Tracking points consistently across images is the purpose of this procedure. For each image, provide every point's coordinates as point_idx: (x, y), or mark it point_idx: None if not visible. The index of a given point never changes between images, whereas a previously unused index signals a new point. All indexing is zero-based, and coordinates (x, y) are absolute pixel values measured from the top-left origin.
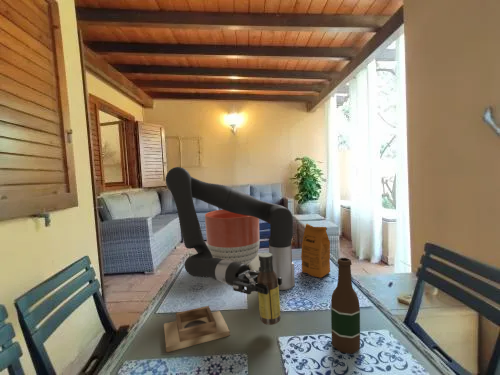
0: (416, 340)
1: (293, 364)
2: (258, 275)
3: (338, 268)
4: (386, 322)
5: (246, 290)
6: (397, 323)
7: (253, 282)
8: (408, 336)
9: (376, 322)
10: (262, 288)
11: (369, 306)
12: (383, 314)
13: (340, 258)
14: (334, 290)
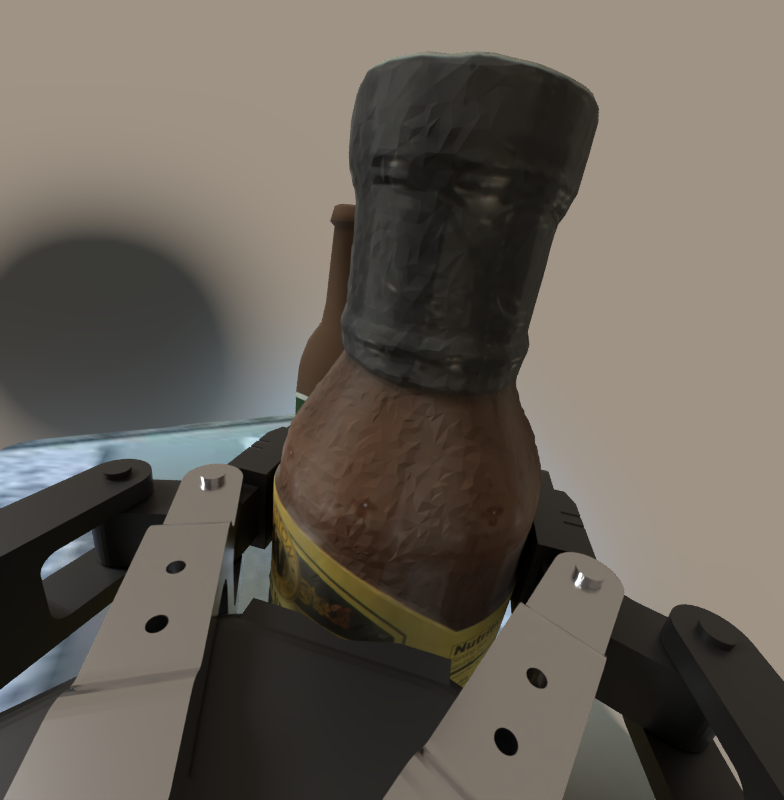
0: (281, 415)
1: (506, 622)
2: (505, 471)
3: (350, 250)
4: (208, 435)
5: (687, 780)
6: (214, 423)
7: (581, 592)
8: (268, 419)
9: (208, 447)
10: (572, 503)
11: (103, 449)
12: (164, 434)
13: (349, 205)
14: (340, 348)
